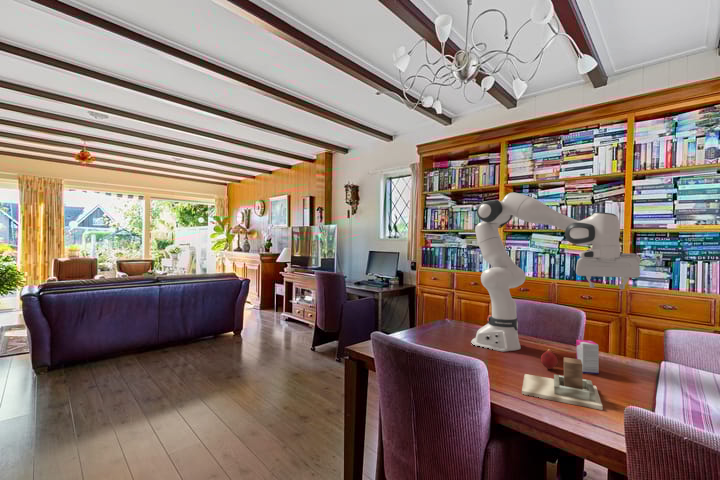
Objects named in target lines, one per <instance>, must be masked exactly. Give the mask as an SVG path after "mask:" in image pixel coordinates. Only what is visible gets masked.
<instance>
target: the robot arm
mask: <svg viewBox="0 0 720 480" xmlns="http://www.w3.org/2000/svg"><path fill="white" fill-rule="evenodd" d="M476 216H477V217H478V218H479V219H480V220H481V222H479V223H477V225H475V228H474V231H475V237H476V242H477V244H478V247H479V249H480V253H481V255H482V258H483V260H484V261H486V262H487V263H488V264H490V266H491V267H490V268H487V269H485V270H483V271H482V273H481V275H480V282H481V285H482V286H483V287H484V288H485V289H486V290H487V292H488V294H489V296H490V297H489V299H490V302H491V314H489V315H488V316H487V323H486V324H485V325H483V326H482V327H480V328H479V329H478V330H477V331H476V335H475V337H474V338H472V340H471V341H470V344H471V343H472V344H473V345H475V346H474V347H477V346H480V347H479V348H482V347H484V348H483V349H487V348H489V349H488V350H492V349H493V351H498V352H502V353H503V352H509V351H510V352H511V351H512V352H513V351H518V350H521V348H522V347H521V344H520V340H519V335H518V329H519V321H518V318H517V302H516V300H515V299H514V298H512V295H511V292H510V289H515V288H518V287H520V286H521V285H523V284H524V283H525V281H526V278H527V277H526V273H525V271H524V270H523V269H522V268H521V267H519V266H518V265H517V264H516V263H515V262H514V261H513V259H512V258H511V257H510V255H509V254H508V252H507V250H506V248H505V245H504V242H503V241H502V238H501V235H500V233H499V229H501V228H503V227H504V226H505V225H507V224H508V223H509V222H511V221H512V219H513V217H515V218H517V219H520V221H521V220H522V221H524V222H526V223H530V224H534V225H535V224H537V225H547V226H552V227H555V228H557V229H560V230H562V231H564V237H565V239H566V240H567V242H569V243H571V244H574V245H578V246H580V245H581V246H583V245H584V246H585V245H586V246H592V248H590V249H587V250H583V251H580V252H579V254H578V255H579V258H578V259H577V261H576V267H575V274H576V275H577V276H578V277H579V276H580V277H586V280H587V281H588V284H589V288H590V289H591V288H594V289H595V288H596V287H595V283H596V282H592V281H591V279H592V277H603V278H604V277H605V278H606V277H608V278H622V280H623V281H622V283H619V284H618V285H619V287H618V288H619V290H626V289H625V288H626V287H625V285H626V284H628V282H629V278H630V279H636V278H637V279H638V278H639V277H641V269H640V268H641V267H640V264H641V256H640V255H639V254H636V252H635V253H634V252H633V253H632V252H631V253H630V252H629V253H624V252H623V253H622V252H621V243H620V236H621V226H620V220H619V217H618V216H617V215H616V213H611V212H600V211H598V212H597V211H596V212H594V213H593V214H592V215H590V216H588V217H586V218H584V219H581V220H578V219H576V218H572V217H570V216H568V215H565V214H564V213H561V212H558V211H557V210H555V209H553V208H552V207H550V206H547V205H546V204H545V203H543V202H541V201H539V199H536V198H533V197H531V196H529V195H526V194H523V193H518V192H514V191H513V192H509V193H508V194H506V195H505V196H504V197H503V199H502V200H498V199H493V200H487V201H486V200H485V201H483V202H481V203H480V204H478V207H477V209H476ZM472 344H471V345H472ZM473 345H472V346H473Z"/></svg>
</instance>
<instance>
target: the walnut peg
mask: <svg viewBox="0 0 720 480" xmlns="http://www.w3.org/2000/svg"><path fill="white" fill-rule="evenodd" d="M563 376H564V386H566V387H571V388H577V389H583V379H584V378H583V373H582V362H581V360H580V359H576V358H571V357H565V356H564V357H563Z"/></svg>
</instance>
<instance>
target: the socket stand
mask: <svg viewBox="0 0 720 480" xmlns="http://www.w3.org/2000/svg"><path fill="white" fill-rule="evenodd" d="M523 394H524V396H528V395H529V397H533V396H534V397H533V398H538V397H539V398H540V399H544V400H549V401H554V402H560V403H563V404H569V405H574V406H580V407H585V408H590V409H595V410H600V411H603V410H604V409H603V406H604V405H603V403H602V400H601V397H600V395H599V390H598V388H597V386H596V385H593V382H592V380H591V379H584V378H583V389H577V388H571V387H566V386H564V375H560V374H553V378H551V377H545V376H540V375H534V374H533V375H532V374H527V373H524V376H523V381H522V388H521V395H523Z"/></svg>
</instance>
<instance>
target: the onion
mask: <svg viewBox="0 0 720 480" xmlns="http://www.w3.org/2000/svg"><path fill="white" fill-rule="evenodd" d="M540 361H541V362H540V363H542V366H544V367H545V368H546V369H548V370H552V369H554V368H555V367H556V366H557V365H558V361H559V360H558V357H557V356H556V354H555V353H553V351H552V349H550V348H548V349H547V350H546V351H545V352H543V353H542V354H541V356H540Z"/></svg>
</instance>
